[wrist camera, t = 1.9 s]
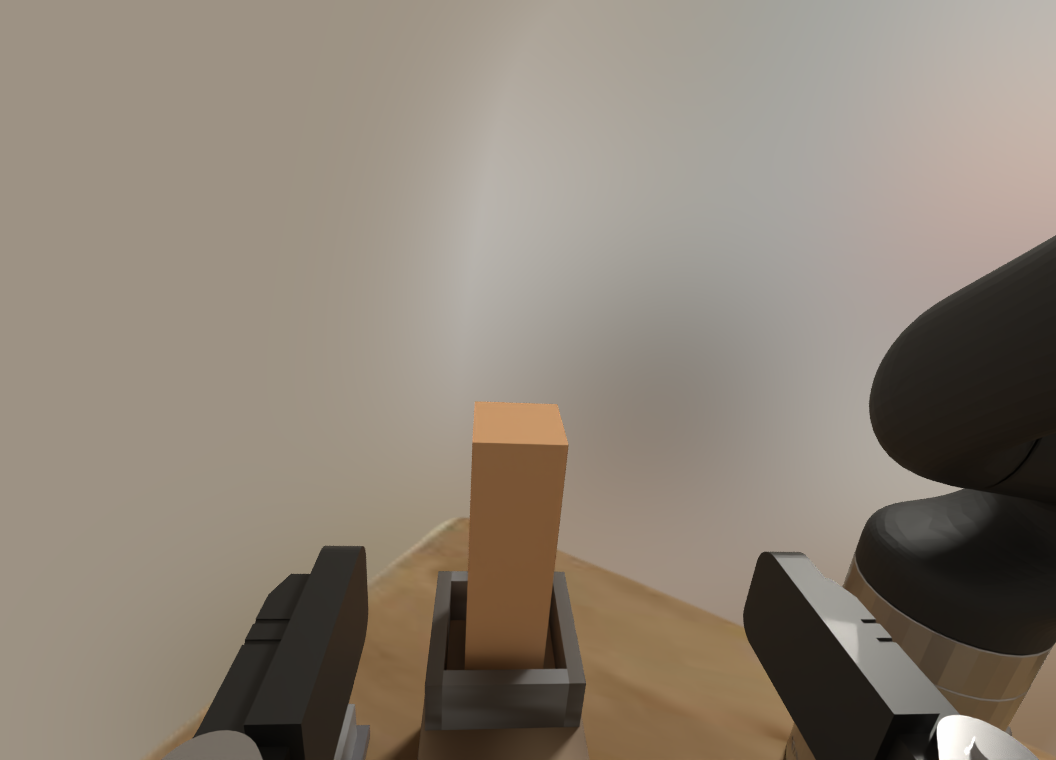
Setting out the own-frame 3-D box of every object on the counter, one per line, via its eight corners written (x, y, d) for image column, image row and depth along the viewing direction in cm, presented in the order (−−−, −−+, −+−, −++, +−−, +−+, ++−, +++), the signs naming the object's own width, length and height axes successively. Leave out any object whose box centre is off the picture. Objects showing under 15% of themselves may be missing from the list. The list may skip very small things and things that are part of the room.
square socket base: (544, 711, 40) (562, 548, 34) (566, 920, 29) (599, 727, 23) (436, 713, 39) (438, 547, 34) (416, 929, 28) (414, 732, 22)
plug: (534, 632, 32) (557, 404, 26) (540, 694, 28) (568, 445, 22) (466, 632, 31) (475, 401, 25) (463, 695, 27) (472, 442, 22)
